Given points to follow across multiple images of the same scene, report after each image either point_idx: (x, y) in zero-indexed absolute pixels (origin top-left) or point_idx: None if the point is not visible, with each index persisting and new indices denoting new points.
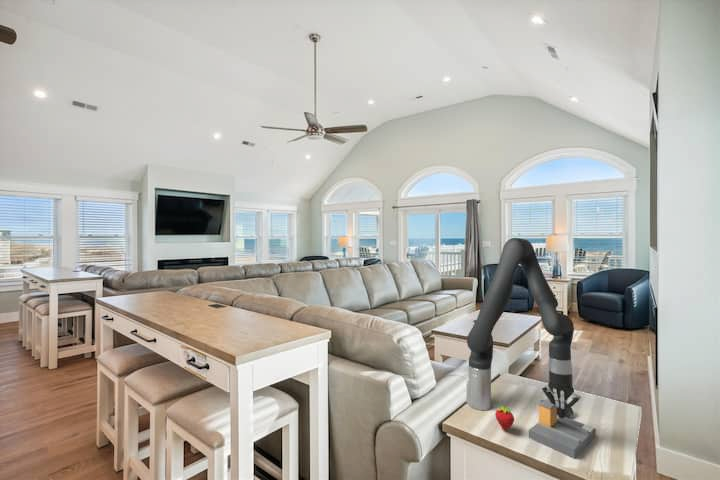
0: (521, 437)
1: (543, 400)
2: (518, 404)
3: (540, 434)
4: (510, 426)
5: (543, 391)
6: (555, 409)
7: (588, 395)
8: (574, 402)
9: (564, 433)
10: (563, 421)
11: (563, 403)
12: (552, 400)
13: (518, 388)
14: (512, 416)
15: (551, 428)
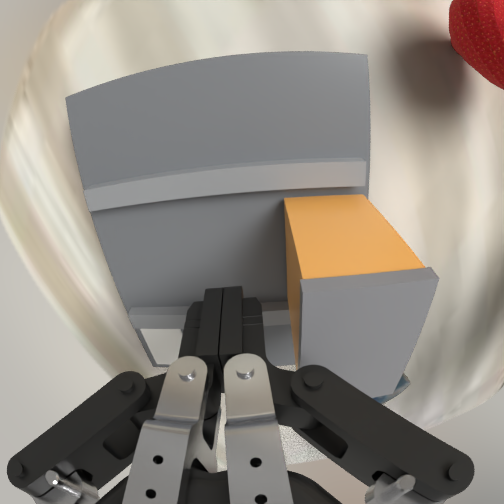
0: (375, 35)
1: (399, 389)
2: (468, 318)
3: (281, 55)
4: (449, 19)
5: (450, 447)
6: (296, 347)
7: (303, 461)
8: (42, 441)
9: (170, 193)
10: None
11: (166, 415)
12: (312, 402)
13: (465, 385)
14: (489, 22)
15: (260, 177)
